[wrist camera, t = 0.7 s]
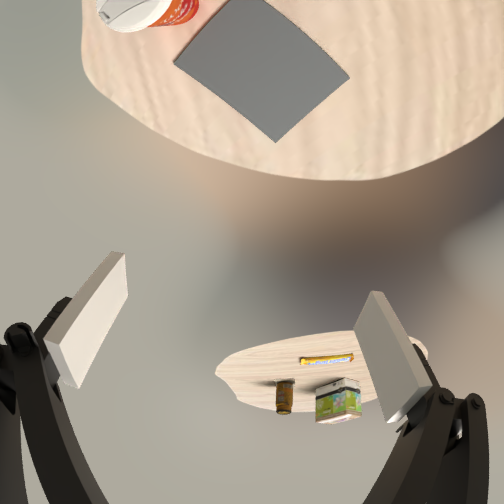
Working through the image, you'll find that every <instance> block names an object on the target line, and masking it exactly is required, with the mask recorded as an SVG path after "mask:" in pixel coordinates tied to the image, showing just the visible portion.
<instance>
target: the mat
mask: <svg viewBox="0 0 504 504" xmlns="http://www.w3.org/2000/svg"><path fill="white" fill-rule="evenodd" d="M174 65H175V66H177V67H178V68H180V69H181V70H183V71H184V72H186V73H187V74H189V75H190V76H191V77H193V78H194V79H196V80H197V81H198V82H200V83H201V84H202V85H204V86H205V87H207V88H208V89H209V90H211V91H212V92H213V93H215V94H216V95H217V96H219V97H220V98H221V99H222V100H224V101H225V102H226V103H228V104H229V105H230V106H231V107H233V108H234V109H235V110H237V111H238V112H239V113H240V114H242V115H243V116H244V117H245V118H246V119H248V120H249V121H250V122H251V123H253V124H254V125H255V126H256V127H257V128H258V129H260V130H261V131H262V132H263V133H264V134H266V135H267V136H268V137H269V138H270V139H271V140H273V141H274V142H275V143H276V142H277V141H278V140H279V139H281V138H282V137H283V136H284V135H285V134H286V133H287V132H288V131H289V130H290V129H291V128H293V127H294V126H295V125H296V124H297V123H298V122H299V121H300V120H301V119H303V118H304V117H305V116H306V115H307V114H308V113H309V112H311V111H312V110H313V109H314V108H315V107H316V106H317V105H319V104H320V103H321V102H322V101H323V100H324V99H326V98H327V97H328V96H329V95H330V94H331V93H333V92H334V91H335V90H336V89H337V88H339V87H340V86H341V85H342V84H343V83H345V82H346V81H347V80H348V79H350V77H349V76H348V75H347V74H346V73H345V72H344V71H343V70H342V69H341V68H340V67H339V66H338V65H337V64H336V63H335V62H334V61H333V60H332V59H331V58H330V57H329V56H328V55H327V54H326V53H325V52H324V51H323V50H322V49H321V48H320V47H319V46H318V45H317V44H316V43H315V42H314V41H312V40H311V39H310V38H309V37H308V36H307V35H306V34H305V33H303V32H302V31H301V30H300V29H299V28H298V27H296V26H295V25H294V24H293V23H292V22H290V21H289V20H288V19H287V18H286V17H284V16H283V15H282V14H280V13H279V12H278V11H277V10H275V9H274V8H273V7H271V6H270V5H269V4H267V3H266V2H264V1H263V0H230V1H229V2H228V3H227V4H226V5H225V6H224V7H223V8H222V9H221V10H220V11H219V12H218V13H217V14H216V15H215V16H214V17H213V18H212V19H211V21H210V22H209V23H208V24H207V25H206V26H205V27H204V28H203V29H202V30H201V31H200V33H199V34H198V35H197V36H196V37H195V38H194V39H193V41H192V42H191V43H190V44H189V45H188V47H187V48H186V49H185V50H184V51H183V53H182V54H181V55H180V56H179V58H178V59H177V60H176V61H175V63H174Z"/></svg>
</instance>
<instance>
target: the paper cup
mask: <svg viewBox="0 0 504 504" xmlns="http://www.w3.org/2000/svg"><path fill="white" fill-rule="evenodd" d="M198 7H199V1H198V0H97V1H96V10H97V12H98V13H99V14H100V15H99V16H100V17H101V19H102V21H103V22H104V23H105V24H106V25H107V26H108V27H109V28H111V29H113V30H115V31H119V32H134V31H138V30H141V29H143V28H146V27H156V26H169V25H178V24H182V23H185V22H187V21H189V20H190V19H191V18H193V17H194V15H195V14H196V13H197V10H198Z"/></svg>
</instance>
